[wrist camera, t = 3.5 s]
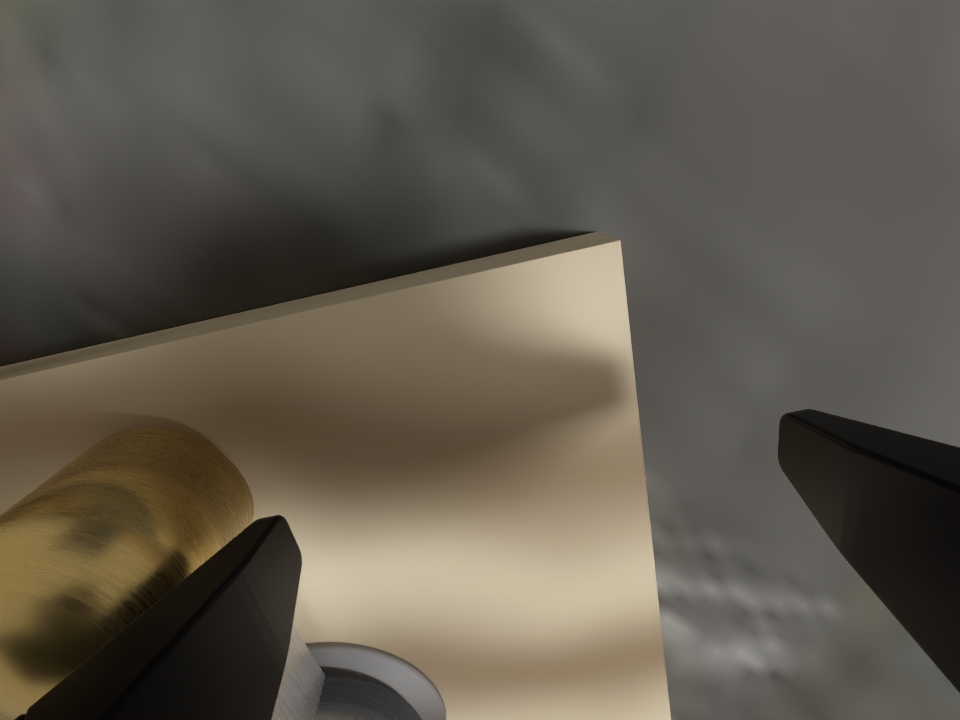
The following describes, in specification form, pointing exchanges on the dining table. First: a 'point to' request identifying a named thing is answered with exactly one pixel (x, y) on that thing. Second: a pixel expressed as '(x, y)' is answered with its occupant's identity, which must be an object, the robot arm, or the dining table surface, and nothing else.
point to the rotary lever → (135, 568)
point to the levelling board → (416, 472)
